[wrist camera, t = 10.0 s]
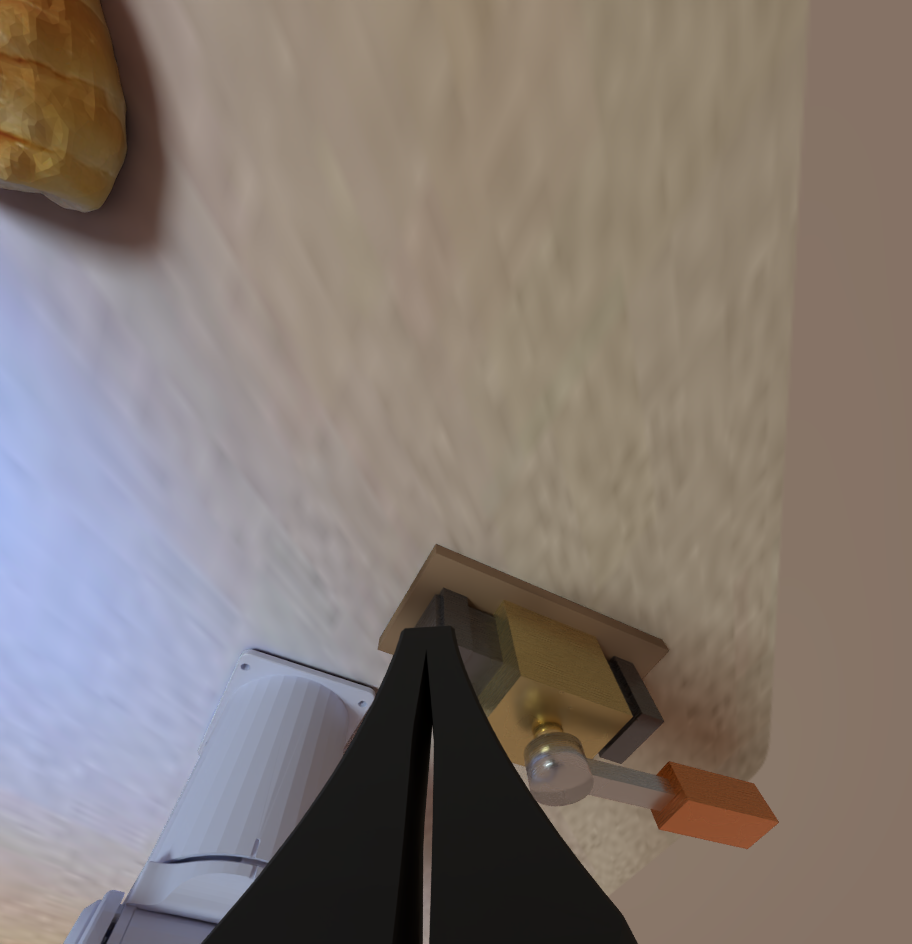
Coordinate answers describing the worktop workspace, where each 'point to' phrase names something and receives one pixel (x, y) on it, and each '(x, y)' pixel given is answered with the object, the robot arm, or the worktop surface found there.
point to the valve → (546, 679)
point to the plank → (495, 586)
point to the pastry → (59, 102)
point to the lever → (650, 792)
